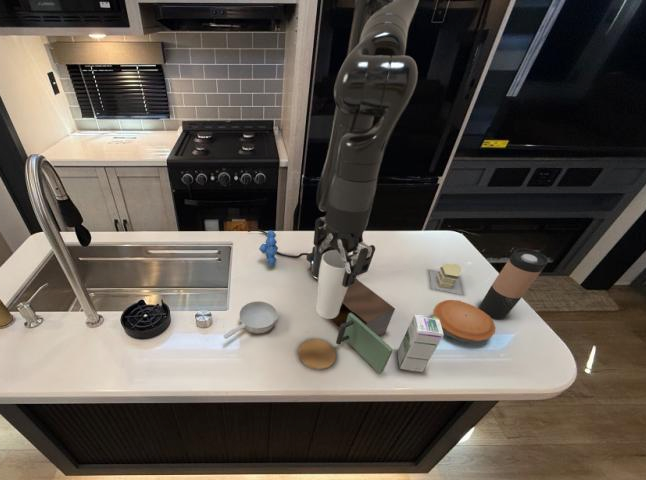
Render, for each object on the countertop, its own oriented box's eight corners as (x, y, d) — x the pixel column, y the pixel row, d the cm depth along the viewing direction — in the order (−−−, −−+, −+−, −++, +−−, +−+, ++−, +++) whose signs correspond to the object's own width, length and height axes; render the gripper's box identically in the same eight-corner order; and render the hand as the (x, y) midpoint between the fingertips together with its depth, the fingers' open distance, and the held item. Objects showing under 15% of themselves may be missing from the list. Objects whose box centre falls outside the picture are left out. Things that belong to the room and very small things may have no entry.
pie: (480, 358, 82) (489, 346, 79) (420, 328, 90) (427, 316, 86) (495, 326, 90) (504, 314, 87) (440, 301, 98) (446, 289, 95)
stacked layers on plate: (461, 294, 101) (469, 281, 97) (431, 288, 103) (438, 275, 99) (457, 276, 108) (465, 263, 104) (429, 271, 110) (435, 258, 106)
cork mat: (291, 349, 84) (291, 348, 84) (319, 335, 88) (319, 334, 88) (313, 375, 78) (314, 374, 78) (343, 359, 82) (343, 358, 82)
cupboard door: (330, 342, 85) (336, 319, 79) (344, 335, 87) (351, 312, 81) (368, 380, 76) (378, 358, 70) (383, 372, 78) (393, 349, 72)
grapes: (258, 253, 118) (258, 224, 110) (276, 252, 118) (277, 224, 110) (259, 272, 110) (259, 242, 102) (278, 271, 110) (280, 242, 102)
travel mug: (507, 308, 96) (548, 253, 82) (506, 323, 91) (549, 268, 78) (479, 299, 99) (514, 245, 85) (476, 313, 94) (513, 258, 81)
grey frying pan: (284, 322, 92) (285, 313, 89) (238, 357, 82) (238, 348, 80) (258, 304, 97) (258, 295, 95) (212, 335, 88) (211, 326, 85)
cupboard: (320, 312, 95) (325, 286, 88) (345, 300, 99) (352, 275, 92) (358, 348, 85) (367, 322, 78) (384, 333, 88) (395, 308, 82)
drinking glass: (324, 326, 70) (335, 272, 59) (306, 307, 74) (314, 254, 64) (348, 316, 72) (363, 262, 62) (329, 298, 76) (341, 246, 66)
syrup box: (423, 373, 79) (446, 334, 69) (398, 369, 80) (418, 330, 70) (419, 355, 83) (440, 316, 73) (395, 351, 84) (413, 313, 74)
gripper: (398, 211, 51) (373, 288, 63) (339, 181, 61) (326, 253, 72) (364, 223, 49) (344, 301, 60) (307, 190, 58) (299, 263, 69)
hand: (334, 275), depth 66 cm, fingers closed on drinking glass, 7 cm apart
